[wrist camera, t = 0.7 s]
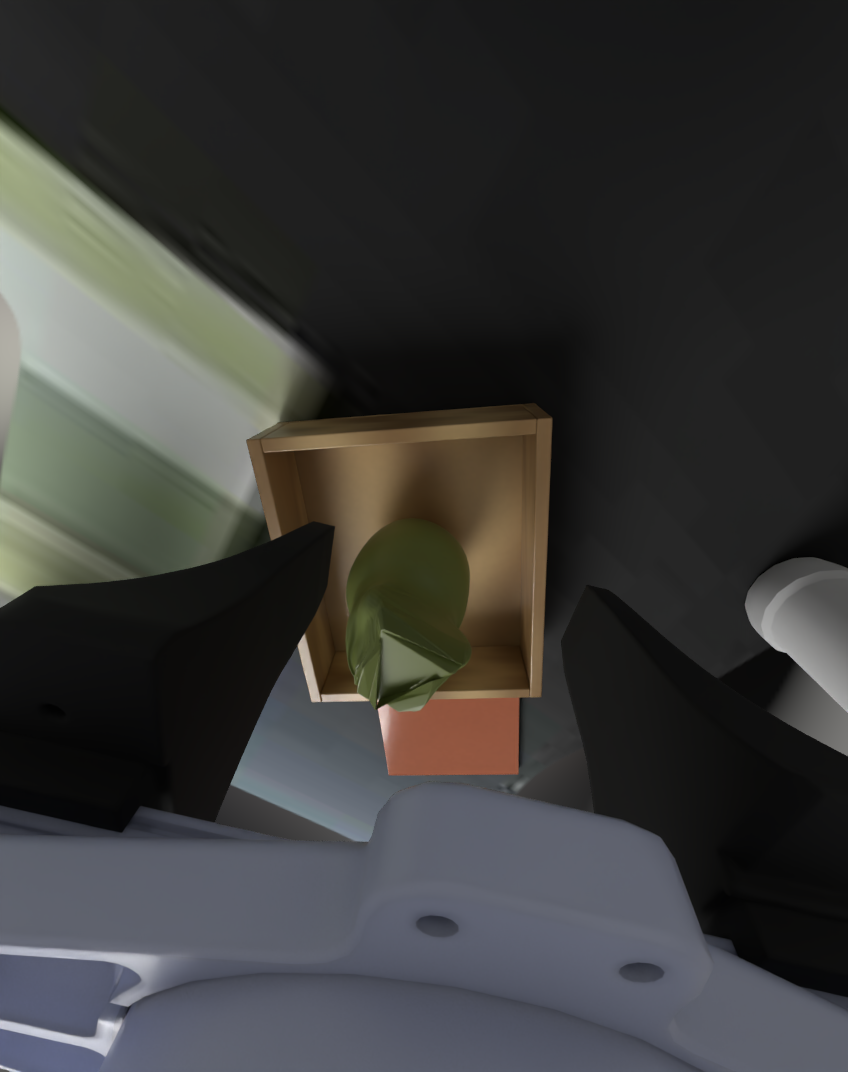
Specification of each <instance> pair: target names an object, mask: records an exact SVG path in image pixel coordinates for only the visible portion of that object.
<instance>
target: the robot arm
mask: <svg viewBox="0 0 848 1072" xmlns="http://www.w3.org/2000/svg"><path fill="white" fill-rule="evenodd" d="M334 531H335V526H332V525H328V524H323V523H319V522H315V521H313V522H311V523H308V524H306V525H304V526H301V527H299V528H297V529H295V530H293V531H291V532H289V533H287V534H285V535H282V536H280V537H278V538H276V539H274V540H271V541H269V542H267V543H265V544H262V545H260V546H257V547H254V548H252V549H249V550H247V551H244V552H242V553H239V554H237V555H234V556H231V557H228V558H225V559H222V560H219V561H215V562H212V563H208V564H205V565H201V566H197V567H193V568H189V569H184V570H179V571H174V572H169V573H165V574H160V575H154V576H148V577H142V578H135V579H127V580H119V581H111V582H100V583H87V584H71V585H54V586H35V587H34V588H32V589H30V590H29V591H27V592H26V593H24V594H22V595H21V596H19V597H17V598H16V599H14V600H13V601H11V602H9V603H8V604H6V605H5V606H3V607H1V608H0V1068H1V1069H5V1070H8V1071H11V1072H848V756H846V755H844V754H842V753H840V752H838V751H836V750H834V749H832V748H831V747H829V746H827V745H825V744H823V743H821V742H819V741H817V740H816V739H814V738H812V737H810V736H808V735H806V734H804V733H803V732H801V731H799V730H797V729H796V728H794V727H792V726H790V725H788V724H787V723H785V722H783V721H782V720H780V719H778V718H777V717H775V716H773V715H772V714H770V713H768V712H767V711H765V710H763V709H762V708H760V707H758V706H757V705H755V704H754V703H752V702H751V701H749V700H748V699H746V698H744V697H743V696H741V695H740V694H738V693H737V692H735V691H734V690H732V689H731V688H730V687H728V686H726V685H725V684H724V683H722V682H721V681H720V680H718V679H717V678H715V677H714V676H712V675H711V674H710V673H708V672H707V671H706V670H704V669H703V668H702V667H700V666H699V665H698V664H696V663H695V662H694V661H693V660H691V659H690V658H689V657H688V656H686V655H685V654H684V653H683V652H681V651H680V650H679V649H678V648H677V647H675V646H674V645H673V644H672V643H671V642H669V641H668V640H667V639H666V638H665V637H663V636H662V635H661V634H660V633H659V632H658V631H657V630H655V629H654V628H653V627H652V626H651V625H650V624H649V623H647V622H646V621H645V620H644V619H643V618H642V617H641V616H640V615H638V614H637V613H636V612H635V611H634V610H633V609H632V608H630V607H629V606H628V605H627V604H626V603H625V602H623V601H622V600H621V599H620V598H619V597H617V596H616V595H615V594H613V593H612V592H610V591H609V590H606V589H602V588H598V587H594V586H589V585H586V588H585V590H584V592H583V594H582V596H581V598H580V601H579V603H578V605H577V607H576V609H575V612H574V614H573V616H572V618H571V620H570V622H569V625H568V627H567V629H566V631H565V633H564V635H563V638H562V640H561V646H562V658H563V666H564V673H565V677H566V682H567V685H568V689H569V693H570V697H571V701H572V705H573V709H574V712H575V716H576V720H577V724H578V727H579V731H580V735H581V739H582V743H583V747H584V751H585V756H586V760H587V766H588V772H589V779H590V786H591V793H592V799H593V807H594V813H591V812H587V811H582V810H577V809H573V808H569V807H565V806H560V805H556V804H552V803H547V802H543V801H538V800H534V799H530V798H525V797H521V796H517V795H512V794H508V793H504V792H499V791H495V790H491V789H486V788H482V787H477V786H473V785H469V784H464V783H450V782H432V781H428V782H425V783H422V784H419V785H416V786H413V787H410V788H407V789H403V790H400V791H398V792H397V793H395V794H393V795H392V797H391V798H390V799H389V800H388V802H387V803H386V804H385V805H384V806H383V808H382V809H381V810H380V811H379V813H378V815H377V819H376V822H375V826H374V830H373V833H372V836H371V838H370V840H369V842H349V841H348V842H346V841H301V840H300V841H299V840H288V839H284V838H279V837H275V836H271V835H267V834H262V833H258V832H253V831H249V830H245V829H240V828H236V827H231V826H227V825H223V824H218V823H214V822H215V820H216V817H217V815H218V812H219V810H220V807H221V805H222V802H223V800H224V798H225V795H226V793H227V790H228V788H229V786H230V783H231V781H232V779H233V776H234V774H235V771H236V769H237V767H238V764H239V762H240V760H241V757H242V755H243V753H244V750H245V748H246V746H247V744H248V741H249V739H250V737H251V734H252V732H253V730H254V728H255V725H256V723H257V721H258V719H259V716H260V714H261V712H262V710H263V708H264V706H265V703H266V701H267V699H268V697H269V695H270V693H271V690H272V688H273V687H274V685H275V683H276V681H277V679H278V677H279V675H280V674H281V672H282V670H283V669H284V667H285V665H286V664H287V662H288V660H289V659H290V657H291V655H292V654H293V652H294V650H295V649H296V647H297V645H298V644H299V642H300V640H301V639H302V637H303V635H304V634H305V632H306V630H307V628H308V627H309V625H310V623H311V622H312V620H313V618H314V616H315V615H316V612H317V610H318V608H319V605H320V603H321V601H322V598H323V596H324V593H325V591H326V588H327V585H328V577H329V569H330V562H331V554H332V546H333V539H334Z"/></svg>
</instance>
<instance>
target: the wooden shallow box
mask: <svg viewBox="0 0 848 1072" xmlns="http://www.w3.org/2000/svg"><path fill="white" fill-rule="evenodd" d="M552 421H553V419H552V417H551V416H549V415H548V414H547V413H546V412H545V411H543V410H542V409H541V408H540V407H538V406H537V405H536V404H535V403H530V404H517V405H504V406H491V407H477V408H464V409H451V410H438V411H424V412H411V413H398V414H384V415H371V416H358V417H345V418H331V419H318V420H305V421H292V422H279V423H277V424H276V425H274V426H272V427H270V428H268V429H266V430H264V431H262V432H260V433H259V434H257V435H255V436H253V437H251V438H249V439H247V440H246V442H247V446H248V450H249V454H250V458H251V462H252V466H253V470H254V474H255V478H256V482H257V486H258V490H259V494H260V498H261V502H262V506H263V510H264V514H265V518H266V522H267V526H268V530H269V534H270V538H271V540H274V539H276V538H278V537H280V536H282V535H285V534H287V533H289V532H291V531H293V530H295V529H297V528H299V527H301V526H304V525H306V524H308V523H311V522H313V521H315V522H319V523H323V524H328V525H332V526H335V531H334V539H333V546H332V554H331V562H330V569H329V577H328V585H327V588H326V591H325V593H324V596H323V598H322V601H321V603H320V605H319V608H318V610H317V612H316V615H315V616H314V618H313V620H312V622H311V623H310V625H309V627H308V628H307V630H306V632H305V634H304V635H303V637H302V639H301V640H300V642H299V644H298V649H299V653H300V657H301V661H302V665H303V669H304V673H305V677H306V681H307V685H308V689H309V693H310V697H311V701H312V702H322V701H323V702H344V701H369V700H368V699H366V698H364V697H363V696H361V695H360V694H358V693H357V687H358V685H355V684H354V677H353V675H352V673H351V671H350V668H349V665H348V660H347V653H346V628H347V622H348V618H349V615H350V614H349V610H348V606H347V600H346V585H347V580H348V576H349V572H350V570H351V567H352V565H353V563H354V561H355V559H356V557H357V555H358V554H359V552H360V551H361V549H362V548H363V546H364V545H365V544H366V543H367V541H368V540H369V539H370V538H371V537H372V536H373V535H374V534H375V533H376V532H378V531H379V530H380V529H381V528H383V527H384V526H386V525H388V524H390V523H392V522H394V521H397V520H401V519H407V518H417V519H423V520H427V521H430V522H433V523H435V524H437V525H439V526H441V527H442V528H444V529H445V530H447V531H448V532H449V533H450V534H452V535H453V536H454V537H455V539H456V540H457V541H458V542H459V543H460V545H461V546H462V548H463V550H464V552H465V554H466V556H467V559H468V563H469V568H470V587H469V597H468V603H467V608H466V612H465V615H464V618H463V621H462V623H461V626H460V628H459V630H460V631H461V632H462V633H463V634H464V635H465V636H466V638H467V639H468V641H469V643H470V645H471V649H472V654H471V658H470V660H469V662H468V663H467V664H466V665H465V666H464V667H463V668H461V669H459V670H458V671H457V672H456V673H455V674H452V675H451V676H450V677H449V678H448V679H447V680H446V681H445V682H444V683H443V684H442V685H441V686H440V687H439V688H438V690H437V691H436V692H435V693H434V695H432V697H431V698H430V700H432V699H476V698H521V697H529V696H530V697H541V695H542V670H543V645H544V620H545V595H546V570H547V545H548V520H549V495H550V470H551V446H552ZM377 701H379V700H378V699H377Z"/></svg>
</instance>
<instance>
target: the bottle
mask: <svg viewBox="0 0 848 1072" xmlns="http://www.w3.org/2000/svg"><path fill="white" fill-rule="evenodd" d="M745 608H746V611H747V615H748V618H749V621H750V623H751V624H752V626H753V627H754V629H755V630H756V631H757V632H758V633H759V634H760V635H761V636H762V637H763V638H764V639H765V640H766V641H767V642H768V643H769V644H770V645H772V646H773V647H774V648H775V649H776V650H778V651H782V652H786V653H787V654H789V656H790V657H791V658H793V659H794V660H795V661H796V662H797V663H798V664H799V665H800V666H801V667H802V668H803V669H804V670H805V671H806V672H807V673H808V674H809V675H810V676H811V677H812V678H813V679H814V680H815V681H816V682H817V683H818V684H819V685H820V686H821V687H822V688H823V689H824V690H825V691H826V692H827V693H828V694H829V695H830V696H831V697H832V698H833V699H834V700H835V701H836V702H837V703H838V704H839V705H840V706H841V707H842V708H843V709H844V710H845V711H846V712H847V713H848V568H846V567H843V566H841V565H838V564H835V563H832V562H828V561H825V560H822V559H819V558H815V557H805V558H792V559H790V560H787V561H784V562H782V563H779V564H776V565H774V566H773V567H771V568H770V569H768V570H767V571H766V572H764V573H763V574H762V575H760V576H759V577H758V578H757V579H756V581H755V582H754V584H753V585H752V586H751V588H750V589H749V590H748V594H747V598H746V602H745Z"/></svg>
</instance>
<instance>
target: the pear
mask: <svg viewBox="0 0 848 1072" xmlns="http://www.w3.org/2000/svg"><path fill="white" fill-rule="evenodd" d="M469 587H470V568H469V563H468V559H467V556H466V554H465V552H464V550H463V548H462V546H461V545H460V543H459V542H458V541H457V540H456V539H455V537H454V536H453V535H452V534H450V533H449V532H448V531H447V530H445V529H444V528H442V527H441V526H439V525H437V524H435V523H433V522H430V521H427V520H423V519H417V518H407V519H401V520H397V521H394V522H392V523H390V524H388V525H386V526H384V527H383V528H381V529H380V530H379V531H378V532H376V533H375V534H374V535H373V536H372V537H371V538H370V539H369V540H368V541H367V543H366V544H365V545H364V546H363V548H362V549H361V551H360V552H359V554H358V555H357V557H356V559H355V561H354V563H353V565H352V567H351V570H350V572H349V576H348V580H347V585H346V600H347V606H348V610H349V614H350V615H349V618H348V622H347V628H346V653H347V660H348V665H349V668H350V671H351V673H352V675H353V677H354V684H355V685H358V687H357V693H358V694H360V695H361V696H363V697H364V698H366V699H368V700H369V701H370V702H371V704H372V706H373V708H374V709H375V710H377V709H378V708H381V707H383V706H384V705H385V704H388V706H390V707H391V708H393V709H395V710H396V711H398V712H406V711H413V712H415V711H419V710H421V709H422V708H423V707H424V706H425V705H426V704H427V702H428V701H429V700H430V698H431V697H432V695H434V693H435V692H436V691H437V690H438V688H439V687H440V686H441V685H442V684H443V683H444V682H445V681H446V680H447V679H448V678H449V677H450V676H451V675H452V674H455V673H456V672H457V671H458V670H459V669H461V668H463V667H464V666H465V665H466V664H467V663H468V662H469V660H470V658H471V654H472V649H471V645H470V643H469V641H468V639H467V638H466V636H465V635H464V634H463V633H462V632H461V631H460V630H459V628H460V626H461V623H462V621H463V618H464V615H465V612H466V608H467V603H468V597H469ZM377 699H378V700H379V702H377ZM377 703H378V704H377ZM376 704H377V705H376ZM376 707H377V708H376Z"/></svg>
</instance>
